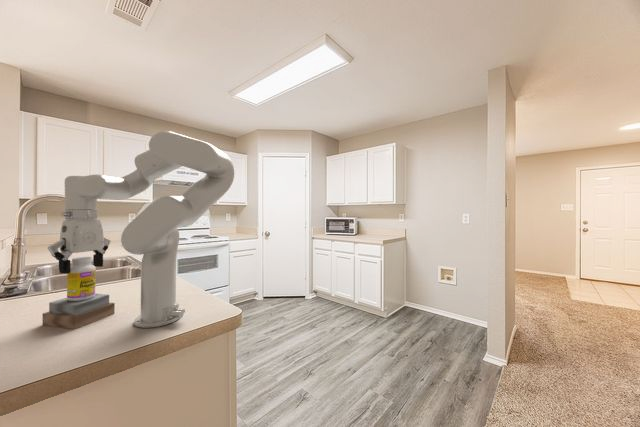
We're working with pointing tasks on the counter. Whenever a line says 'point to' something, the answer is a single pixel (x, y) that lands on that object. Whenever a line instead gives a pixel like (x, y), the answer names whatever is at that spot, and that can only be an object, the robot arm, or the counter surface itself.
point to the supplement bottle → (81, 279)
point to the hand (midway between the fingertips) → (82, 269)
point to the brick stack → (78, 312)
